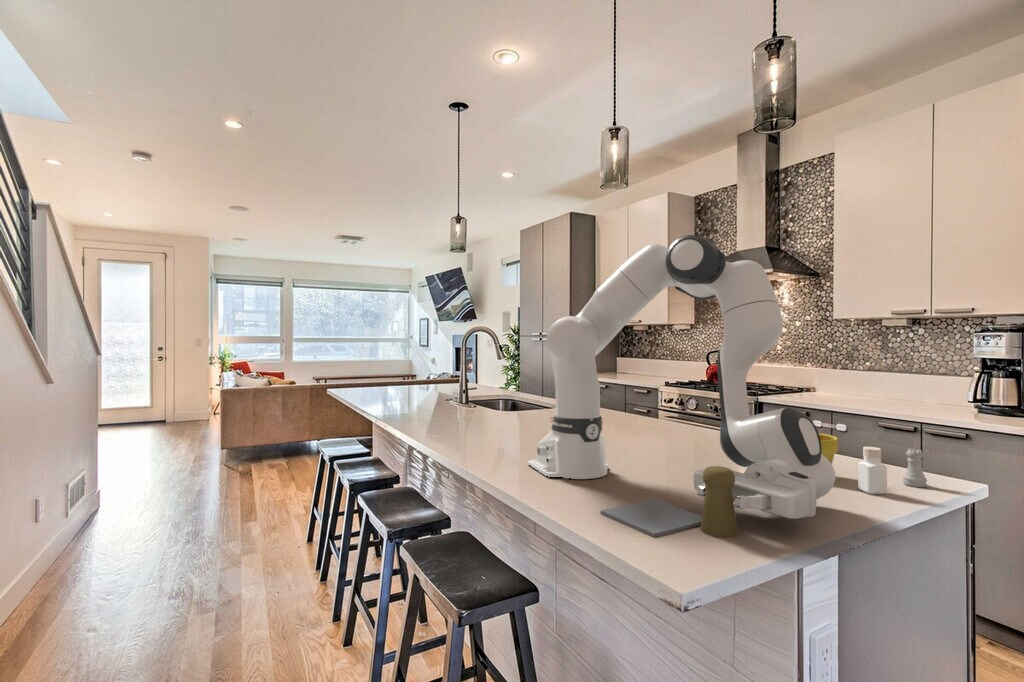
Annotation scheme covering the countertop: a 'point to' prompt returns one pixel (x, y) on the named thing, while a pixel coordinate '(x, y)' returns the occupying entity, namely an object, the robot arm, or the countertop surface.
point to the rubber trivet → (654, 517)
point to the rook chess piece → (914, 469)
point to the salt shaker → (872, 472)
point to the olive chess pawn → (719, 503)
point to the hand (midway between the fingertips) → (718, 497)
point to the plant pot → (828, 446)
